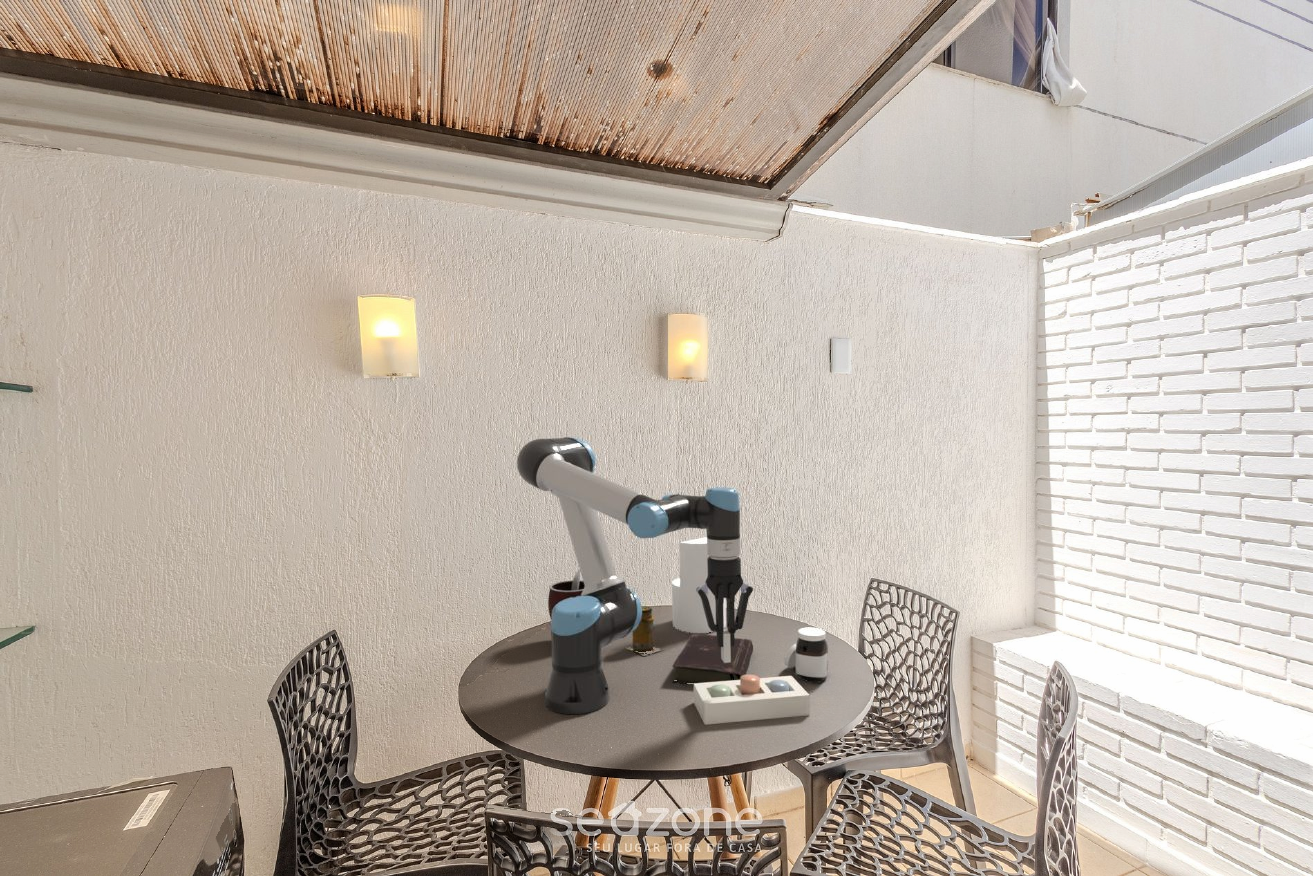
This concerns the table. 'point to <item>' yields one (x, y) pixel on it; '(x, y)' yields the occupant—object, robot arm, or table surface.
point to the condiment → (644, 633)
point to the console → (751, 702)
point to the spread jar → (809, 655)
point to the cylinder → (692, 589)
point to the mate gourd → (564, 591)
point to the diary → (711, 660)
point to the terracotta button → (749, 684)
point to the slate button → (779, 686)
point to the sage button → (720, 691)
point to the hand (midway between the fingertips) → (726, 660)
